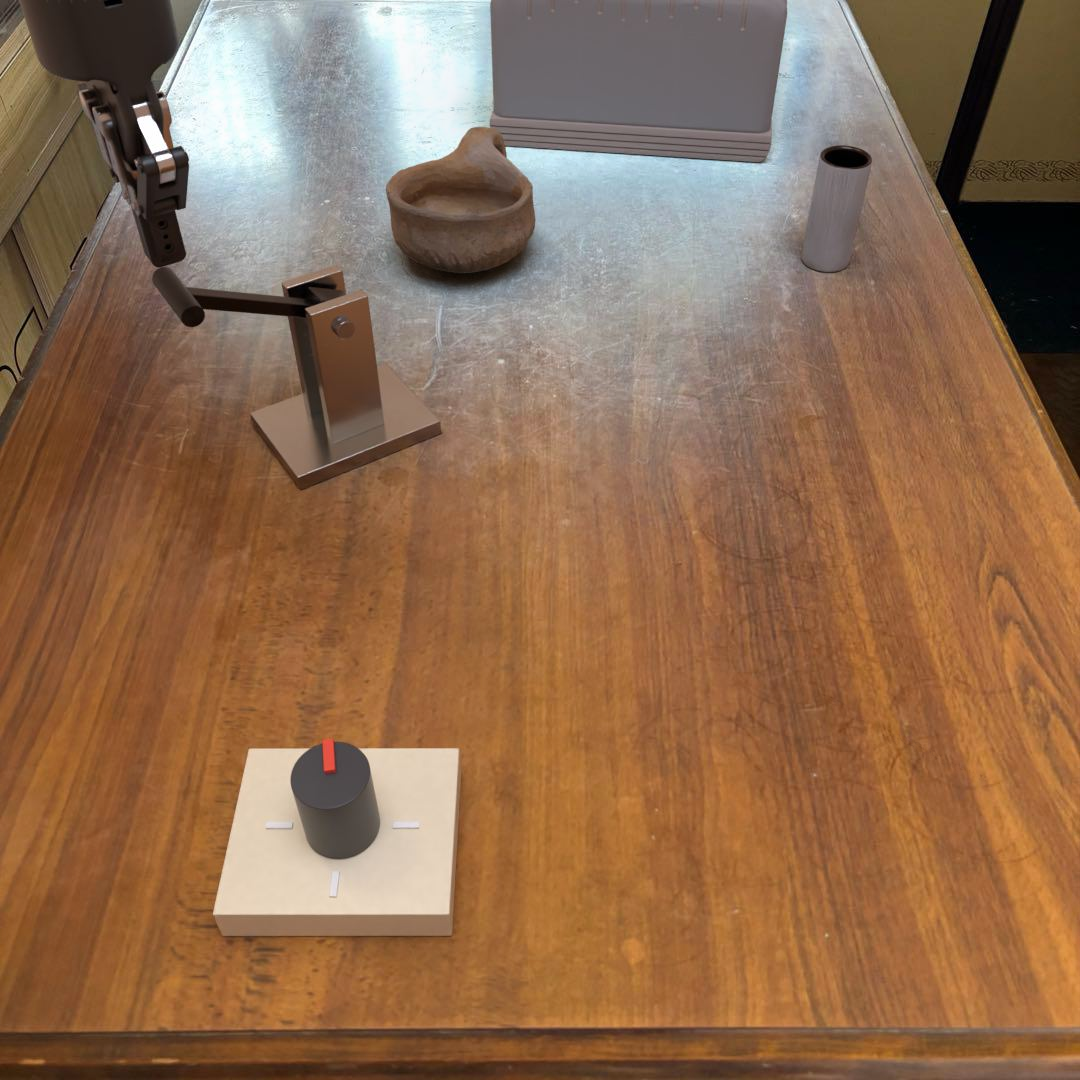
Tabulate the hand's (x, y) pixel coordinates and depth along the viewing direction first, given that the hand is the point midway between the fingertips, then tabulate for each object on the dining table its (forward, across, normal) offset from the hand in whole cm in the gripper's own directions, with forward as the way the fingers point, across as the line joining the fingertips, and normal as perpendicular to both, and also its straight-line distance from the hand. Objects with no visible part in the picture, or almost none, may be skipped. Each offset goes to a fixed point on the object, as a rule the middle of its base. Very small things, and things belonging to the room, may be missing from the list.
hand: (167, 259), depth 70 cm
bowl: (+19, -19, +32) cm, 42 cm away
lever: (+6, 0, +5) cm, 8 cm away
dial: (+16, +33, -6) cm, 37 cm away
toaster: (+19, -39, +68) cm, 81 cm away
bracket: (+18, 0, +10) cm, 21 cm away
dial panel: (+18, +33, -6) cm, 38 cm away
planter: (+19, +2, +59) cm, 62 cm away
